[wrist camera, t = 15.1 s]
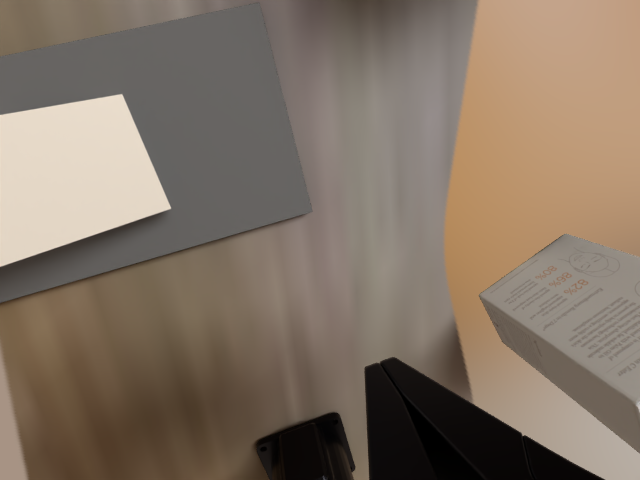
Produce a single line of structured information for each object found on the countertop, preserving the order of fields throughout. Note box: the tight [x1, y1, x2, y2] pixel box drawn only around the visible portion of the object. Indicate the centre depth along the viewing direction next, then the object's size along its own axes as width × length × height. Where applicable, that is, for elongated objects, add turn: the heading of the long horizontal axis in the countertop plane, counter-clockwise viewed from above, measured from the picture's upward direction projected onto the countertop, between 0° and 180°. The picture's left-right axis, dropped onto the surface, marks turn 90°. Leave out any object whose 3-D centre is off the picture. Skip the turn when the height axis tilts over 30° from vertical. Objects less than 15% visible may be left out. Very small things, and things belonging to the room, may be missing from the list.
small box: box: [479, 234, 640, 453], centre depth 20 cm, size 8×6×10 cm
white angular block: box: [0, 94, 171, 267], centre depth 13 cm, size 2×5×8 cm
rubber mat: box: [0, 3, 313, 303], centre depth 15 cm, size 10×26×1 cm, turn 103°
